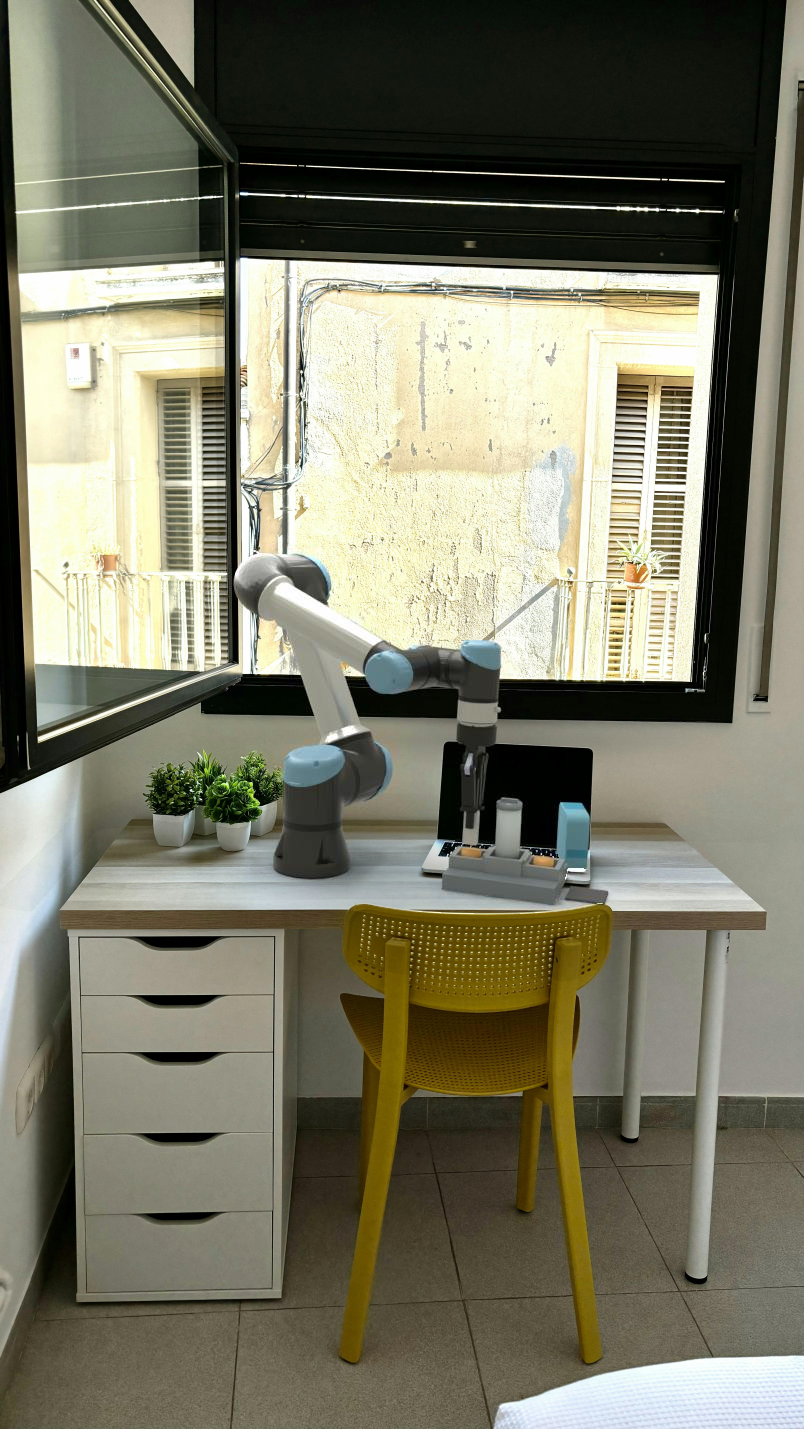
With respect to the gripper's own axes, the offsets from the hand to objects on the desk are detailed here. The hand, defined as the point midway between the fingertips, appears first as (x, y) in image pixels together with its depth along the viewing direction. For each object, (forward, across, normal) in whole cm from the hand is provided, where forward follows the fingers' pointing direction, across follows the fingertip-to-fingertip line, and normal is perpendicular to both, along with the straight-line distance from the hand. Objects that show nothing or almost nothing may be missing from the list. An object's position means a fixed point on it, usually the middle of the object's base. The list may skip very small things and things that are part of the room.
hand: (470, 843), depth 189 cm
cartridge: (+4, 0, -7) cm, 8 cm away
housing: (+7, 0, -7) cm, 10 cm away
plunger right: (+4, 0, -14) cm, 15 cm away
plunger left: (+4, 0, 0) cm, 4 cm away
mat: (+7, -1, -23) cm, 24 cm away
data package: (+7, +17, -18) cm, 25 cm away
